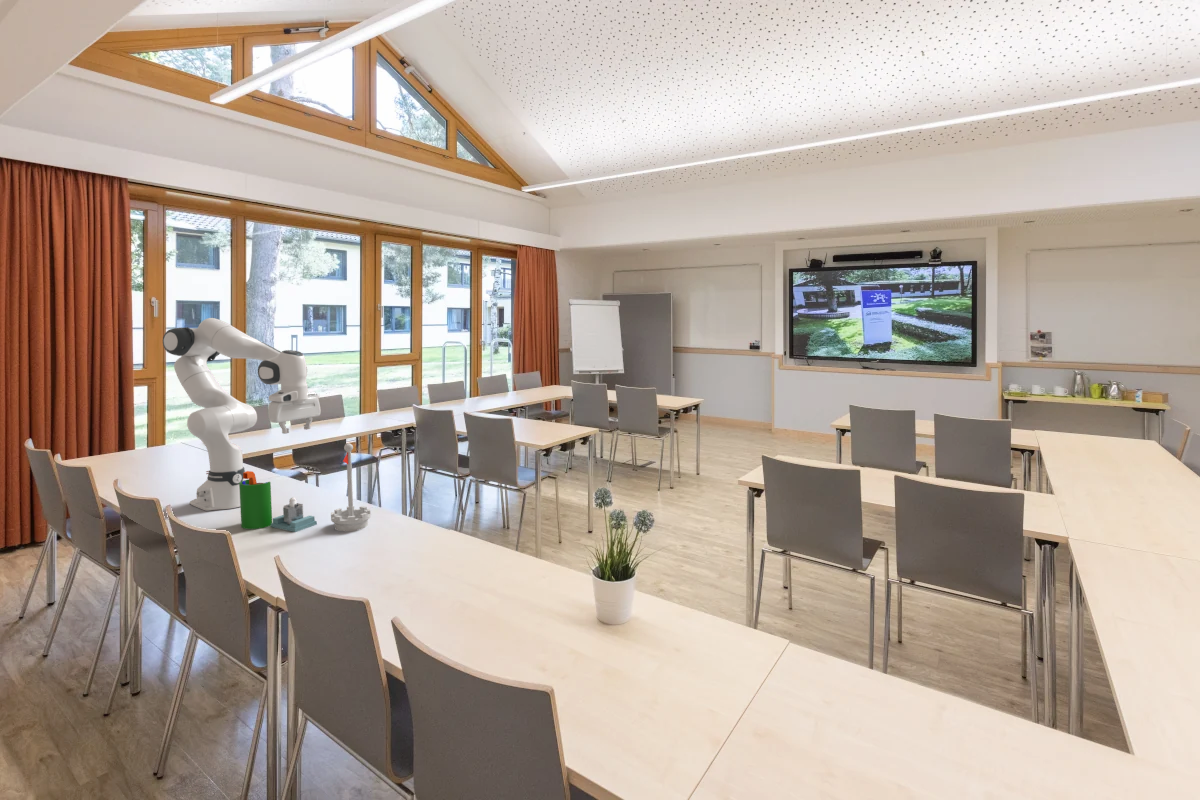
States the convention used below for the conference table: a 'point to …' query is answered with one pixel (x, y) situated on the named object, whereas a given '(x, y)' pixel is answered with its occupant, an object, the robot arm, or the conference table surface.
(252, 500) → the green cup
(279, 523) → the shaft block
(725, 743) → the conference table surface
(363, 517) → the flag stand
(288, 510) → the hub
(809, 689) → the conference table surface
